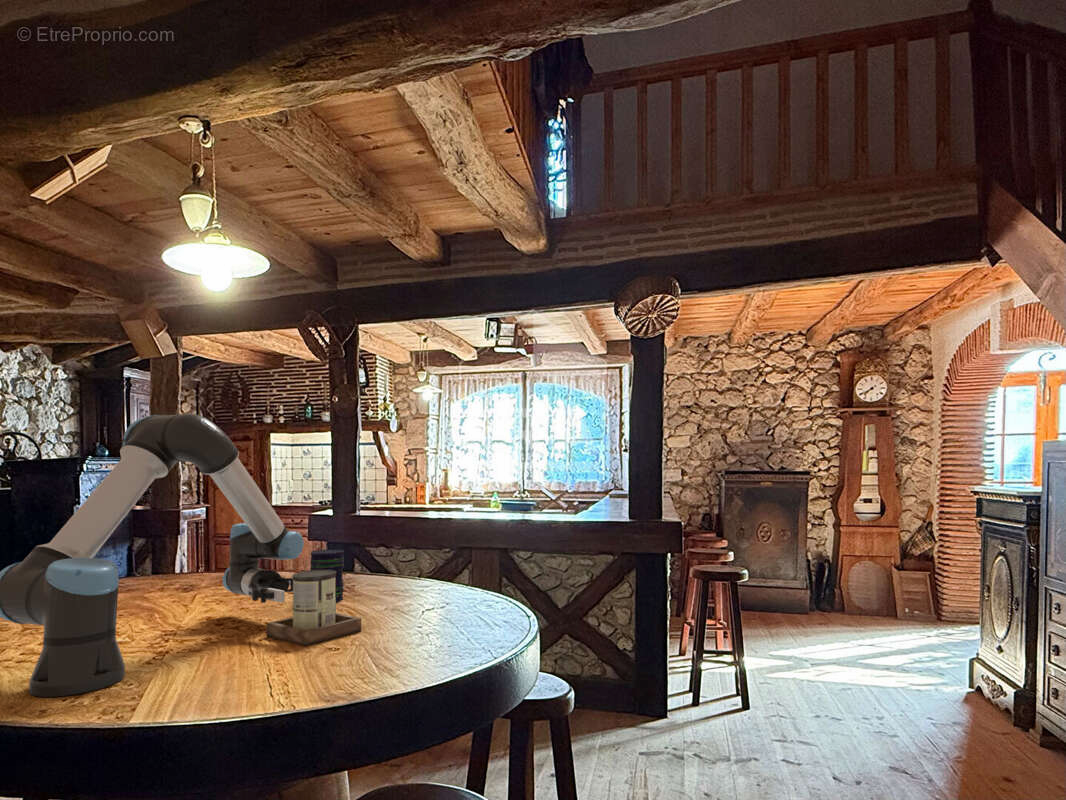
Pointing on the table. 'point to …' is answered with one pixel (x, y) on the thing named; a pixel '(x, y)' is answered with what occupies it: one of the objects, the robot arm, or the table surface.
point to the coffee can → (314, 599)
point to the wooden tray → (313, 630)
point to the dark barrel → (330, 566)
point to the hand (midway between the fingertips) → (308, 591)
